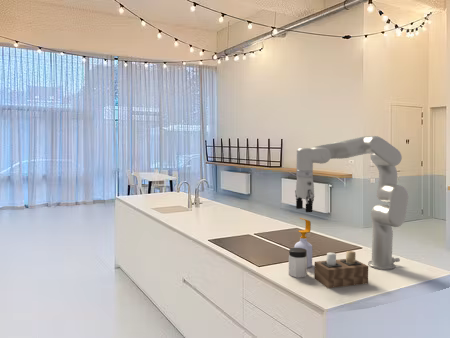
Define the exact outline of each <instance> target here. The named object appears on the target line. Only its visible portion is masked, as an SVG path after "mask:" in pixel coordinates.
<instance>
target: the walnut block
mask: <svg viewBox="0 0 450 338" xmlns="http://www.w3.org/2000/svg"><path fill="white" fill-rule="evenodd" d="M313 276H314V280H316V281H317V282H319V283H320V284H321V285H322V286H324V287H326V288H327V289H332V288H334V289H335V288H341V287H350V286H359V285H367V284H369V265H367V264H365V263H363V262H361V261H359V260H357V259H355V264H348V263H346V258H340V259H336V265H335V266H329V265H327V260H321V261H320V260H319V261H314V274H313Z"/></svg>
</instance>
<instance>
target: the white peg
mask: <svg viewBox="0 0 450 338" xmlns="http://www.w3.org/2000/svg"><path fill="white" fill-rule="evenodd" d="M336 260H337V253H335V252H327V253H326V261H327V265H329V266H335V265H336Z"/></svg>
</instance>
